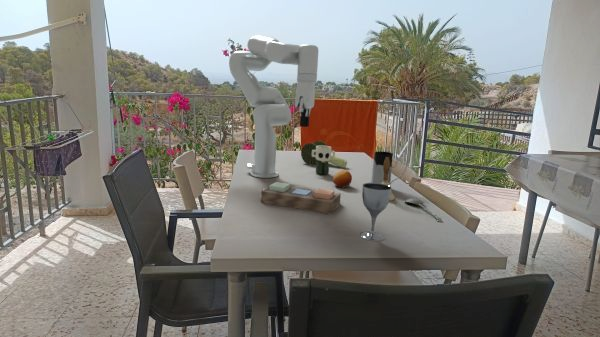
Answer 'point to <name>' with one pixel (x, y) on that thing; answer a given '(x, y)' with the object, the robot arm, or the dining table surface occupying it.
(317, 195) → the terracotta key
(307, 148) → the green broccoli
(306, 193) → the slate key
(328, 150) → the character mug
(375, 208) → the wine glass
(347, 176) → the fruit
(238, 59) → the robot arm
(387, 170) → the hand bell
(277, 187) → the sage key
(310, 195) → the key panel
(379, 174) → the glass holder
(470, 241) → the dining table surface
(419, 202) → the soupspoon
